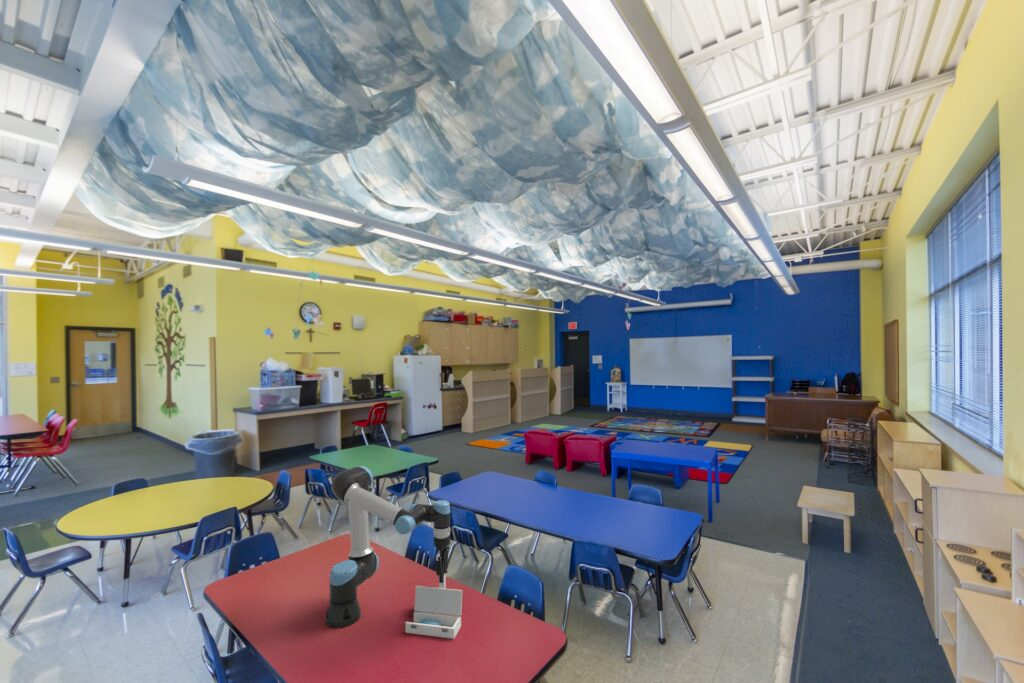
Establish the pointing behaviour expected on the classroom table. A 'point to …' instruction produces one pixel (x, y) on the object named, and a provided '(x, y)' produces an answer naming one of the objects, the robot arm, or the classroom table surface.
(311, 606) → the classroom table surface
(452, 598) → the cover
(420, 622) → the blue pill shape
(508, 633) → the classroom table surface
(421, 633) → the white latched case
